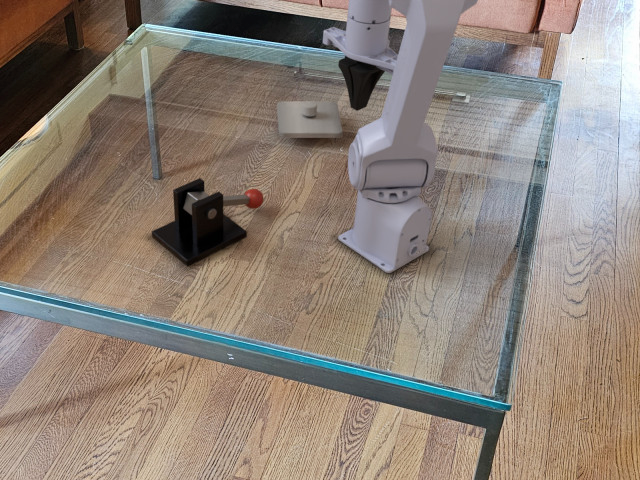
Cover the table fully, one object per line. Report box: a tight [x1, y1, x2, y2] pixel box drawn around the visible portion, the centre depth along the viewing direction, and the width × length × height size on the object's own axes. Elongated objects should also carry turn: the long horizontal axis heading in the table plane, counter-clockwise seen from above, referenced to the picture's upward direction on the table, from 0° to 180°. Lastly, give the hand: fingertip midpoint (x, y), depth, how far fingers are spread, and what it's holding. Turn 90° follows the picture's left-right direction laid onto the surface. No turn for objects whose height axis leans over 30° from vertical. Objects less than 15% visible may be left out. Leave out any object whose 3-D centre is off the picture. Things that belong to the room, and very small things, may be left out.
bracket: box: [151, 177, 248, 267], centre depth 110 cm, size 10×8×7 cm
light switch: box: [276, 100, 344, 139], centre depth 132 cm, size 10×10×5 cm
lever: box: [183, 188, 264, 215], centre depth 113 cm, size 13×3×3 cm, turn 130°
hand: (358, 106), depth 120 cm, fingers closed
